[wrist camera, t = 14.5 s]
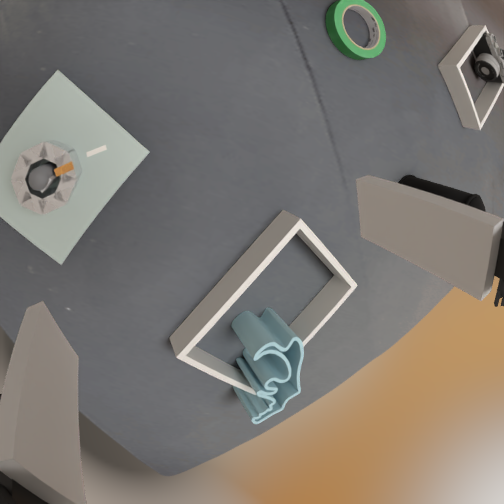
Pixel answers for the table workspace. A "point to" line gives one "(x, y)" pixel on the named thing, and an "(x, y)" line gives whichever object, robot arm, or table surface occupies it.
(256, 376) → the light blue curvy piece
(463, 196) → the aerosol can
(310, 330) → the dispenser corral
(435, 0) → the table surface
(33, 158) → the grey piece
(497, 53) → the camera
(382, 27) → the tape roll
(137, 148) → the peg stand
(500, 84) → the camera corral
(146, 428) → the table surface
